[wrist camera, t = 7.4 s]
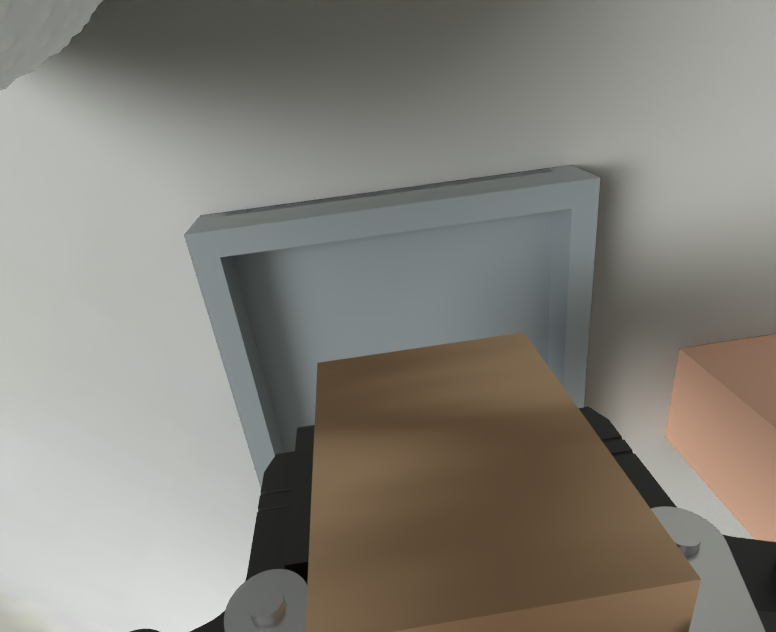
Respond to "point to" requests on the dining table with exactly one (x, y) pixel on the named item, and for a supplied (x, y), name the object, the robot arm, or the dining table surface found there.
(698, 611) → the robot arm
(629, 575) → the block
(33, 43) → the mug
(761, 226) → the dining table surface
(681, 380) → the block
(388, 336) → the tray
